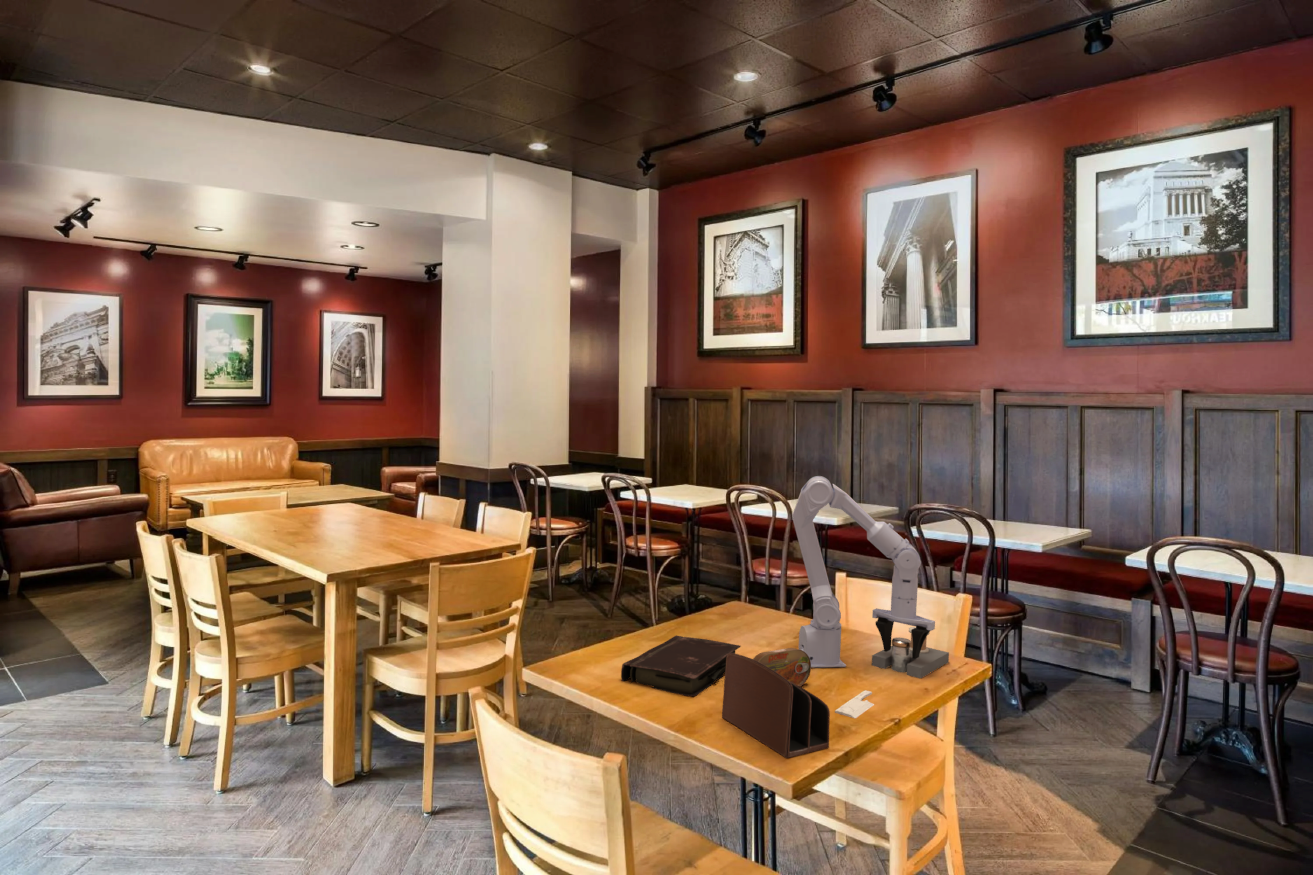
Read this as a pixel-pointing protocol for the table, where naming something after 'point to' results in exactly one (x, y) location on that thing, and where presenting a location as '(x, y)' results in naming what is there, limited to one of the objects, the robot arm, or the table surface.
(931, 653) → the notched board
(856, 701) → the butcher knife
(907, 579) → the robot arm
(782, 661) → the tin
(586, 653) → the table surface
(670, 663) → the diary
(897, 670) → the peg
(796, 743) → the letter holder
